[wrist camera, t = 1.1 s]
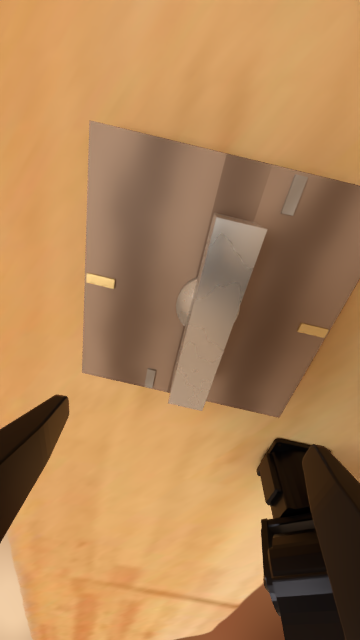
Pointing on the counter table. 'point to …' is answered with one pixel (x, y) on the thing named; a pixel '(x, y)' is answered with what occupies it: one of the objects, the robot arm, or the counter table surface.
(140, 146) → the lock plate
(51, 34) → the counter table surface
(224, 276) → the t key
